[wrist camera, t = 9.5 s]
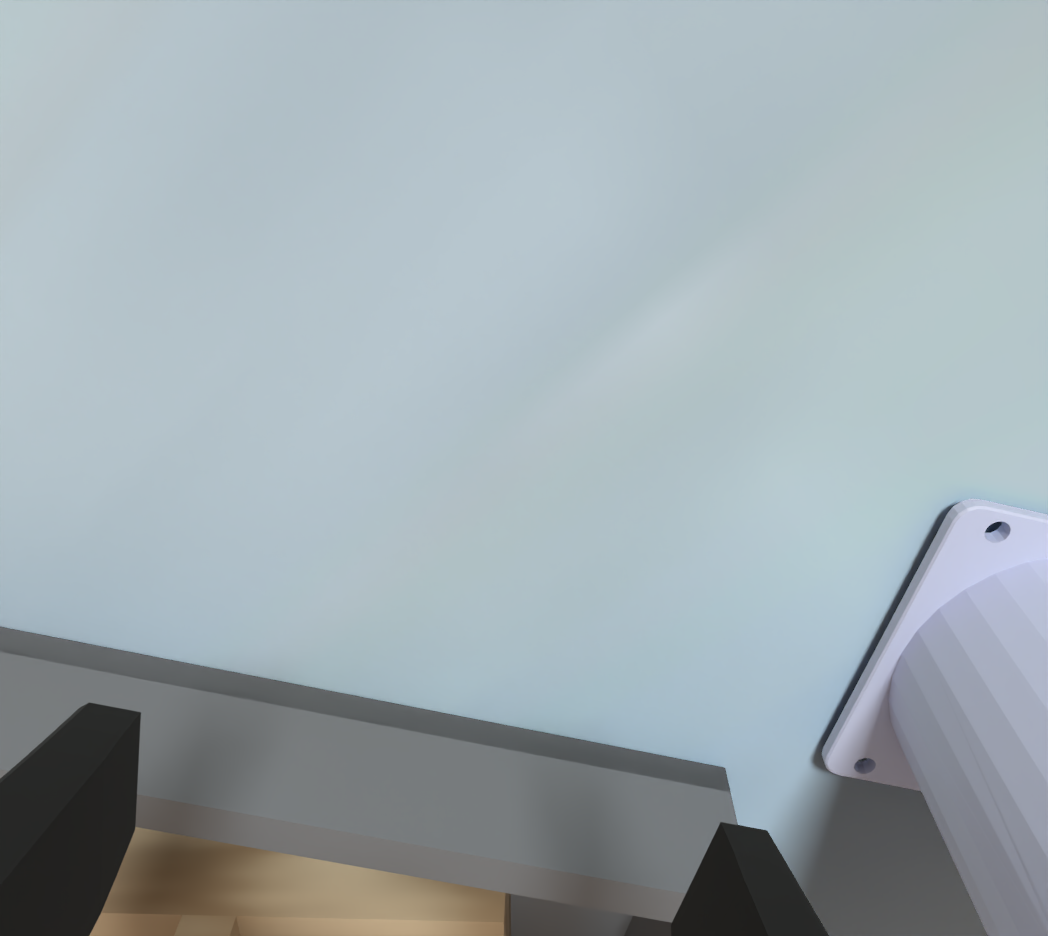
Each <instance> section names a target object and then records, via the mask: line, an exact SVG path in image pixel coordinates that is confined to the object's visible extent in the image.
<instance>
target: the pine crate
mask: <svg viewBox="0 0 1048 936" xmlns="http://www.w3.org/2000/svg"><path fill="white" fill-rule="evenodd" d="M89 936H511V894H509V893H503V892H497V891H492V890H486V889H481V888H475V887H469V886H464V885H458V884H453V883H447V882H441V881H436V880H430V879H425V878H419V877H413V876H408V875H402V874H397V873H391V872H385V871H380V870H374V869H368V868H363V867H357V866H352V865H346V864H340V863H335V862H329V861H324V860H318V859H312V858H307V857H301V856H296V855H290V854H284V853H279V852H273V851H268V850H262V849H256V848H251V847H245V846H240V845H234V844H228V843H223V842H217V841H212V840H206V839H200V838H195V837H189V836H183V835H178V834H172V833H167V832H161V831H155V830H150V829H144V828H139V827H135V831H134V834H133V836H132V839H131V841H130V844H129V846H128V849H127V851H126V854H125V856H124V859H123V861H122V864H121V866H120V869H119V871H118V874H117V876H116V878H115V881H114V883H113V886H112V888H111V890H110V893H109V895H108V898H107V900H106V902H105V905H104V907H103V909H102V912H101V914H100V916H99V918H98V920H97V922H96V924H95V926H94V928H93V930H92V932H91V933H90V935H89Z"/></svg>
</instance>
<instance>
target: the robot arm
mask: <svg viewBox="0 0 1048 936" xmlns="http://www.w3.org/2000/svg"><path fill="white" fill-rule="evenodd" d="M995 522H1002V524H1001V526H1000V527H999V528H998V529H997V530H995V531H993V532H991V533H985V531H986V529H987V528H988V527H989V525H990V524H993V523H995ZM140 722H141V712H137V711H132V710H127V709H121V708H116V707H111V706H105V705H100V704H95V703H90V702H89V703H87V704H85V705H84V706H82V707H80V708H79V709H77V710H76V711H75V712H74V713H73V714H72V715H71V716H70V717H69V718H68V719H67V720H66V721H64V722H63V723H62V724H61V725H60V726H59V727H58V728H57V729H56V730H55V731H54V732H52V733H51V734H50V735H49V736H48V737H47V738H46V739H45V740H44V741H42V742H41V743H40V744H39V745H38V746H37V747H36V748H35V749H34V750H32V751H31V752H30V753H29V754H28V755H27V756H26V757H25V758H23V759H22V760H21V761H20V762H19V763H18V764H17V765H15V766H14V767H13V768H12V769H11V770H10V771H8V772H7V773H6V774H5V775H4V776H3V777H1V778H0V936H89V935H90V933H91V932H92V930H93V928H94V926H95V924H96V922H97V920H98V918H99V916H100V914H101V912H102V909H103V907H104V905H105V902H106V900H107V898H108V895H109V893H110V890H111V888H112V886H113V883H114V881H115V878H116V876H117V874H118V871H119V869H120V866H121V864H122V861H123V859H124V856H125V854H126V851H127V849H128V846H129V844H130V841H131V839H132V836H133V834H134V831H135V824H136V804H137V784H138V763H139V743H140ZM822 757H823V760H824V763H825V766H826V768H827V769H828V770H829V771H830V772H831V773H834V774H836V775H841V776H846V777H851V778H856V779H861V780H866V781H871V782H876V783H881V784H886V785H892V786H897V787H902V788H907V789H912V790H917V791H921V792H922V794H923V796H924V798H925V801H926V803H927V805H928V807H929V809H930V812H931V814H932V816H933V818H934V820H935V822H936V825H937V827H938V829H939V831H940V833H941V835H942V838H943V840H944V842H945V844H946V846H947V848H948V851H949V853H950V855H951V857H952V859H953V861H954V864H955V866H956V868H957V870H958V872H959V874H960V877H961V879H962V881H963V883H964V885H965V887H966V890H967V892H968V894H969V896H970V898H971V900H972V903H973V905H974V907H975V909H976V911H977V914H978V916H979V918H980V920H981V922H982V924H983V927H984V929H985V931H986V933H987V935H988V936H1048V514H1043V513H1039V512H1034V511H1030V510H1026V509H1021V508H1017V507H1012V506H1008V505H1004V504H999V503H995V502H990V501H986V500H982V499H968V500H964V501H961V502H959V503H958V504H956V505H955V506H953V507H952V508H951V510H950V511H949V512H948V513H947V515H946V517H945V519H944V521H943V523H942V525H941V526H940V528H939V530H938V532H937V534H936V536H935V538H934V540H933V542H932V543H931V545H930V547H929V549H928V551H927V553H926V555H925V557H924V558H923V560H922V562H921V564H920V566H919V568H918V570H917V572H916V574H915V575H914V577H913V579H912V581H911V583H910V585H909V587H908V589H907V591H906V592H905V594H904V596H903V598H902V600H901V602H900V604H899V606H898V608H897V609H896V611H895V613H894V615H893V617H892V619H891V621H890V623H889V624H888V626H887V628H886V630H885V632H884V634H883V636H882V638H881V640H880V641H879V643H878V645H877V647H876V649H875V651H874V653H873V655H872V657H871V658H870V660H869V662H868V664H867V666H866V668H865V670H864V672H863V673H862V675H861V677H860V679H859V681H858V683H857V685H856V687H855V689H854V690H853V692H852V694H851V696H850V698H849V700H848V702H847V704H846V706H845V707H844V709H843V711H842V713H841V715H840V717H839V719H838V721H837V723H836V724H835V726H834V728H833V730H832V732H831V734H830V736H829V738H828V739H827V741H826V743H825V745H824V747H823V750H822ZM863 758H868V759H867V760H864V761H862V762H857V761H858V760H860V759H863ZM671 936H829V935H828V933H827V932H826V930H825V928H824V927H823V925H822V923H821V922H820V920H819V918H818V917H817V915H816V913H815V911H814V910H813V908H812V906H811V905H810V903H809V901H808V899H807V898H806V896H805V894H804V893H803V891H802V889H801V888H800V886H799V884H798V882H797V881H796V879H795V877H794V875H793V874H792V872H791V870H790V869H789V867H788V865H787V864H786V862H785V860H784V858H783V857H782V855H781V853H780V852H779V850H778V848H777V847H776V845H775V843H774V842H773V840H772V838H771V837H770V835H769V833H768V831H766V830H761V829H756V828H750V827H745V826H740V825H735V824H729V823H724V822H720V824H719V826H718V828H717V830H716V833H715V835H714V837H713V839H712V841H711V843H710V845H709V847H708V849H707V851H706V853H705V855H704V857H703V859H702V862H701V864H700V866H699V868H698V870H697V872H696V874H695V876H694V878H693V880H692V882H691V884H690V886H689V888H688V890H687V893H686V895H685V897H684V899H683V901H682V903H681V905H680V907H679V909H678V911H677V913H676V915H675V917H674V919H673V921H672V924H671Z"/></svg>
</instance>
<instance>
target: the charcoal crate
mask: <svg viewBox="0 0 1048 936" xmlns="http://www.w3.org/2000/svg"><path fill="white" fill-rule="evenodd" d="M89 702H90V703H95V704H100V705H105V706H111V707H116V708H121V709H127V710H132V711H137V712H141V722H140V743H139V763H138V784H137V804H136V824H135V827H139V828H144V829H150V830H155V831H161V832H167V833H172V834H178V835H183V836H189V837H195V838H200V839H206V840H212V841H217V842H223V843H228V844H234V845H240V846H245V847H251V848H256V849H262V850H268V851H273V852H279V853H284V854H290V855H296V856H301V857H307V858H312V859H318V860H324V861H329V862H335V863H340V864H346V865H352V866H357V867H363V868H368V869H374V870H380V871H385V872H391V873H397V874H402V875H408V876H413V877H419V878H425V879H430V880H436V881H441V882H447V883H453V884H458V885H464V886H469V887H475V888H481V889H486V890H492V891H497V892H503V893H509V894H511V936H671V924H672V921H673V919H674V917H675V915H676V913H677V911H678V909H679V907H680V905H681V903H682V901H683V899H684V897H685V895H686V893H687V890H688V888H689V886H690V884H691V882H692V880H693V878H694V876H695V874H696V872H697V870H698V868H699V866H700V864H701V862H702V859H703V857H704V855H705V853H706V851H707V849H708V847H709V845H710V843H711V841H712V839H713V837H714V835H715V833H716V830H717V828H718V826H719V824H720V822H724V823H729V824H735V825H738V824H737V819H736V815H735V810H734V806H733V802H732V797H731V793H730V788H729V784H728V779H727V775H726V770H725V768H723V767H718V766H713V765H707V764H702V763H697V762H692V761H687V760H682V759H677V758H671V757H666V756H661V755H656V754H651V753H646V752H641V751H635V750H630V749H625V748H620V747H615V746H610V745H605V744H599V743H594V742H589V741H584V740H579V739H574V738H569V737H563V736H558V735H553V734H548V733H543V732H538V731H533V730H528V729H522V728H517V727H512V726H507V725H502V724H497V723H492V722H486V721H481V720H476V719H471V718H466V717H461V716H456V715H450V714H445V713H440V712H435V711H430V710H425V709H420V708H414V707H409V706H404V705H399V704H394V703H389V702H384V701H378V700H373V699H368V698H363V697H358V696H353V695H348V694H342V693H337V692H332V691H327V690H322V689H317V688H312V687H306V686H301V685H296V684H291V683H286V682H281V681H276V680H271V679H265V678H260V677H255V676H250V675H245V674H240V673H235V672H229V671H224V670H219V669H214V668H209V667H204V666H199V665H193V664H188V663H183V662H178V661H173V660H168V659H163V658H157V657H152V656H147V655H142V654H137V653H132V652H127V651H121V650H116V649H111V648H106V647H101V646H96V645H91V644H85V643H80V642H75V641H70V640H65V639H60V638H55V637H49V636H44V635H39V634H34V633H29V632H24V631H19V630H14V629H8V628H3V627H0V778H1V777H3V776H4V775H5V774H6V773H7V772H8V771H10V770H11V769H12V768H13V767H14V766H15V765H17V764H18V763H19V762H20V761H21V760H22V759H23V758H25V757H26V756H27V755H28V754H29V753H30V752H31V751H32V750H34V749H35V748H36V747H37V746H38V745H39V744H40V743H41V742H42V741H44V740H45V739H46V738H47V737H48V736H49V735H50V734H51V733H52V732H54V731H55V730H56V729H57V728H58V727H59V726H60V725H61V724H62V723H63V722H64V721H66V720H67V719H68V718H69V717H70V716H71V715H72V714H73V713H74V712H75V711H76V710H77V709H79V708H80V707H82V706H84V705H85V704H87V703H89Z"/></svg>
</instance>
